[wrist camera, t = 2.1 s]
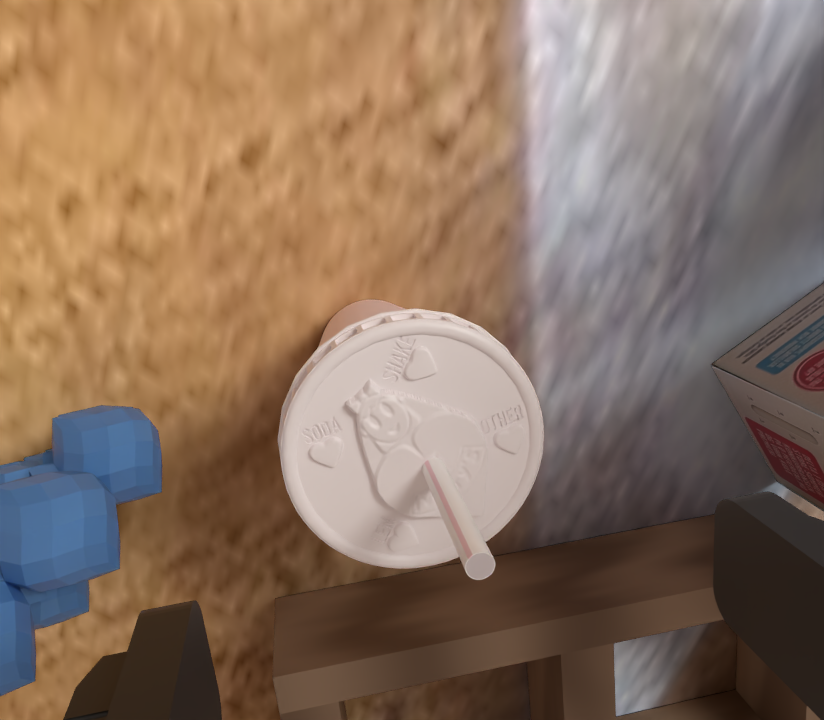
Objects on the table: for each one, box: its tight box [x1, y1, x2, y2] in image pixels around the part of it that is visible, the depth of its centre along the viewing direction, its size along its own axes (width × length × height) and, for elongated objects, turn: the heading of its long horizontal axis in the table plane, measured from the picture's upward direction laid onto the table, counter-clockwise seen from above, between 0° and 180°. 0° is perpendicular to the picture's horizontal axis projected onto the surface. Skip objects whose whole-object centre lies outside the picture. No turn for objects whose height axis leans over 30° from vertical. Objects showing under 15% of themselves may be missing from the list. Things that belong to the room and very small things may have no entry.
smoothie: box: [278, 299, 544, 580], centre depth 19 cm, size 6×6×14 cm
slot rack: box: [273, 514, 820, 720], centre depth 28 cm, size 22×11×4 cm, turn 96°
